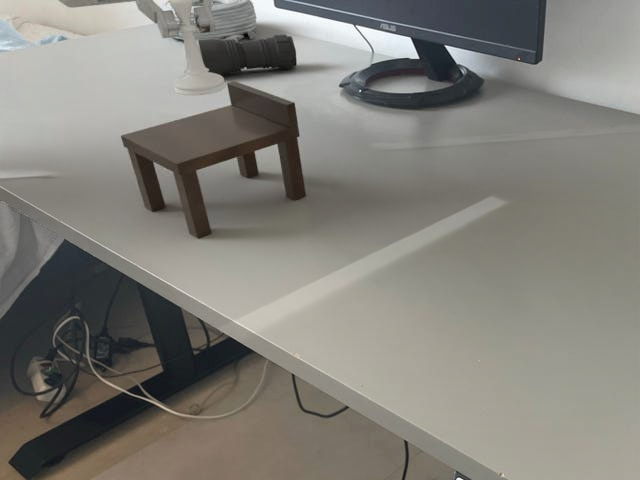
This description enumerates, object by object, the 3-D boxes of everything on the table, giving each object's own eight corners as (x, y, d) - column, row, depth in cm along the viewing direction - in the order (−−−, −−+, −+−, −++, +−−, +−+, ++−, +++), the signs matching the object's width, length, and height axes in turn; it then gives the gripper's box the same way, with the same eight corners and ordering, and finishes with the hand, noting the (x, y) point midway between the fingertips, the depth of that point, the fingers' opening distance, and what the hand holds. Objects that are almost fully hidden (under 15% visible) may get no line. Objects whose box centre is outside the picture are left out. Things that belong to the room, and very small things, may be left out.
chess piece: (236, 83, 73) (214, -27, 67) (205, 98, 69) (179, -18, 63) (195, 78, 74) (170, -31, 68) (163, 92, 70) (134, -22, 64)
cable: (257, 42, 133) (251, 7, 129) (158, 47, 130) (148, 11, 126) (259, 21, 146) (254, -12, 142) (170, 25, 143) (162, -9, 139)
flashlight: (294, 63, 122) (289, 29, 119) (300, 71, 118) (296, 36, 115) (201, 71, 118) (193, 36, 114) (204, 81, 114) (196, 45, 110)
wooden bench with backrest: (197, 240, 72) (170, 138, 66) (142, 207, 78) (112, 111, 71) (308, 196, 80) (294, 102, 74) (251, 169, 86) (234, 80, 80)
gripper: (9, -122, 61) (65, 24, 61) (245, -130, 70) (295, -2, 69) (24, -68, 67) (75, 66, 66) (240, -81, 76) (287, 37, 75)
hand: (189, 31), depth 68 cm, fingers closed on chess piece
